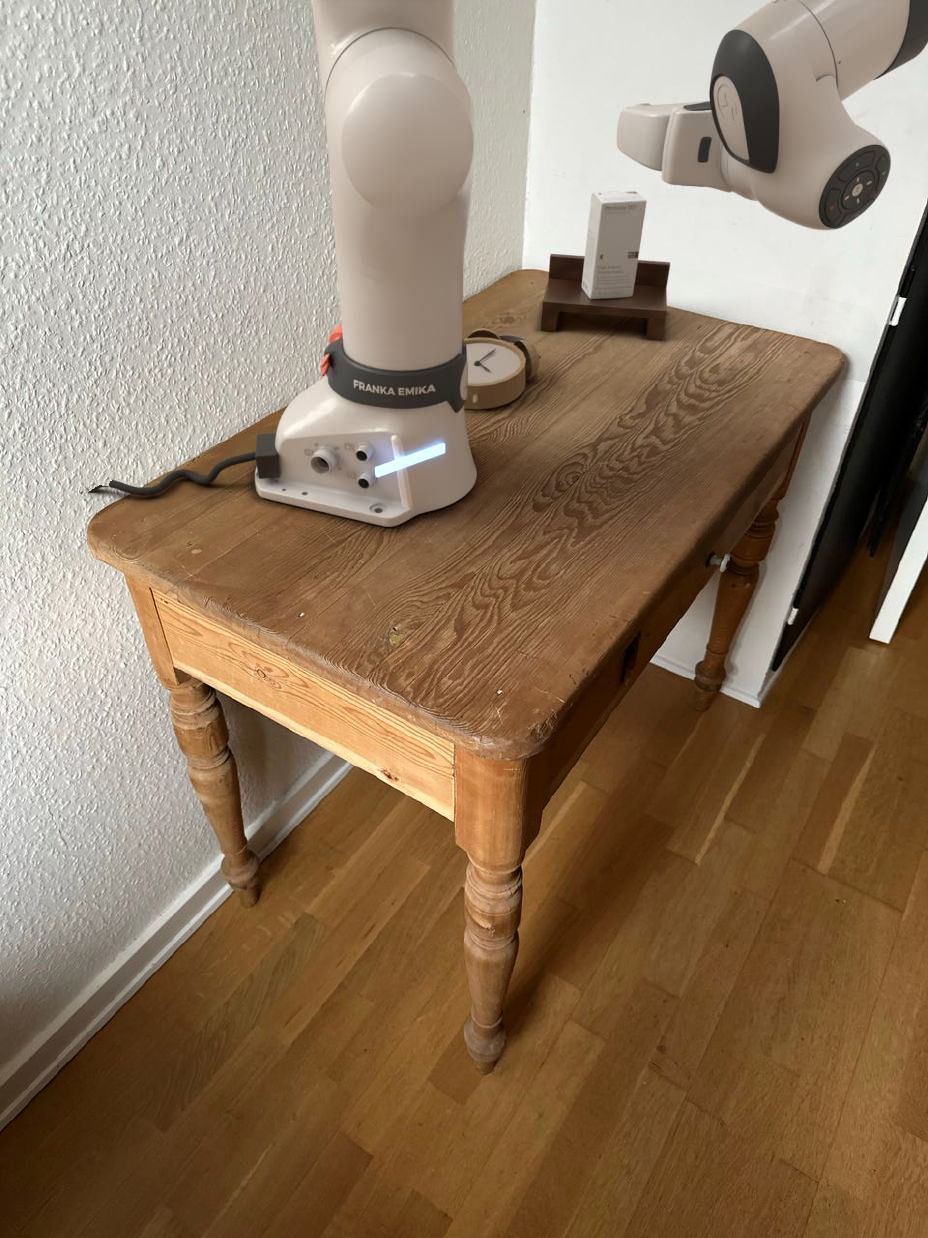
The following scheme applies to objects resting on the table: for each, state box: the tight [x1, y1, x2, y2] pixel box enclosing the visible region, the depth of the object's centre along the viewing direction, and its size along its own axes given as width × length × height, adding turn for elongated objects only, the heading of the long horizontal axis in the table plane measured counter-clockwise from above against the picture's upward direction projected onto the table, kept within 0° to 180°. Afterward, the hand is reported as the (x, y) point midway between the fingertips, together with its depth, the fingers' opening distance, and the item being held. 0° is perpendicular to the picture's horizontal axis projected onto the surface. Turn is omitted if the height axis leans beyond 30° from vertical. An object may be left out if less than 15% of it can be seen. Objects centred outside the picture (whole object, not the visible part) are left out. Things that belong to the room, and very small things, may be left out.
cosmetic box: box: [582, 190, 647, 299], centre depth 116 cm, size 6×4×12 cm
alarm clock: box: [463, 327, 542, 410], centre depth 108 cm, size 11×5×15 cm
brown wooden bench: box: [540, 253, 671, 341], centre depth 120 cm, size 16×9×7 cm, turn 81°
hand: (678, 108), depth 96 cm, fingers open, 8 cm apart
